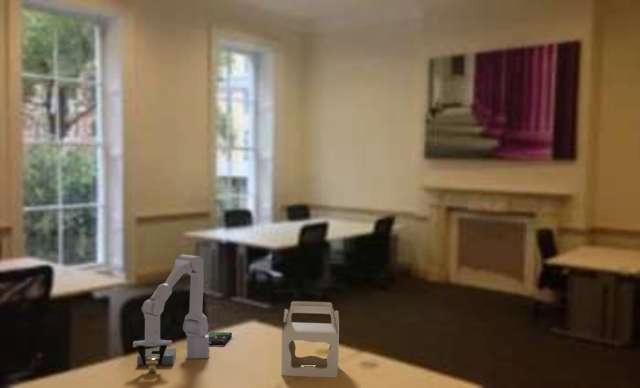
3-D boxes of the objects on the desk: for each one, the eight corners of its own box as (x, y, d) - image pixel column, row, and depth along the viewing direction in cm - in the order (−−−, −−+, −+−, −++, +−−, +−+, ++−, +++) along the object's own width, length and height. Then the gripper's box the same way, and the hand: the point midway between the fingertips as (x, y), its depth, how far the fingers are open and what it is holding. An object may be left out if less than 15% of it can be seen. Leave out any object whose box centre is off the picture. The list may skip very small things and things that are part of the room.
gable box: (280, 375, 231) (281, 304, 230) (284, 364, 244) (285, 297, 243) (337, 378, 229) (338, 306, 228) (338, 366, 243) (340, 299, 241)
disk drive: (224, 347, 268) (232, 337, 283) (224, 341, 268) (232, 332, 283) (201, 346, 269) (210, 337, 284) (201, 340, 269) (210, 331, 284)
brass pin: (160, 369, 236) (160, 356, 236) (158, 374, 230) (158, 360, 230) (146, 369, 235) (146, 356, 235) (143, 374, 230) (143, 361, 229)
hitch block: (175, 357, 250) (175, 348, 250) (172, 365, 240) (172, 355, 240) (141, 358, 249) (141, 349, 248) (137, 366, 239) (137, 356, 239)
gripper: (131, 333, 227) (131, 368, 228) (170, 332, 229) (169, 367, 229) (134, 328, 234) (134, 362, 235) (172, 327, 236) (172, 361, 236)
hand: (152, 364), depth 233 cm, fingers closed on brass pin, 6 cm apart
